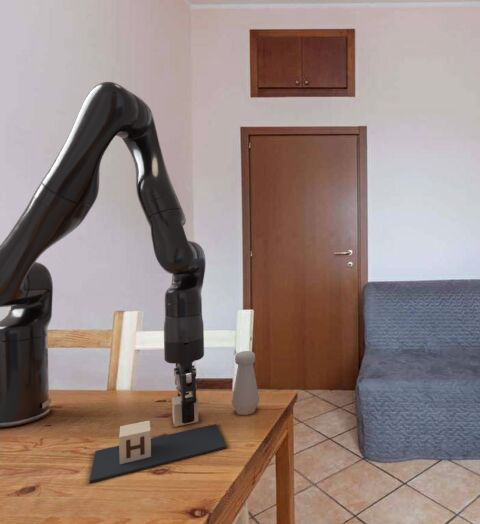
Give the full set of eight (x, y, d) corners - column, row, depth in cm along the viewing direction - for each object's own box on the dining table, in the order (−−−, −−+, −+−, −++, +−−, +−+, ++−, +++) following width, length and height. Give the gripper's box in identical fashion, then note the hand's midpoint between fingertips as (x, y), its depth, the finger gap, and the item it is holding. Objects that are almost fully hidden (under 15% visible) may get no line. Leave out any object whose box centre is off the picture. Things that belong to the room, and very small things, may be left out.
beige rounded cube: (119, 464, 60) (119, 437, 60) (120, 451, 64) (120, 426, 64) (151, 457, 62) (150, 430, 62) (150, 445, 66) (149, 420, 66)
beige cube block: (174, 427, 74) (174, 404, 74) (172, 418, 78) (172, 397, 78) (198, 422, 76) (198, 400, 76) (195, 413, 80) (195, 393, 80)
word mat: (89, 483, 56) (89, 480, 56) (95, 453, 65) (95, 450, 65) (226, 448, 66) (226, 445, 66) (215, 425, 75) (215, 424, 75)
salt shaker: (251, 418, 78) (251, 356, 78) (226, 415, 79) (226, 355, 79) (263, 406, 84) (263, 349, 84) (240, 405, 85) (239, 348, 85)
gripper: (161, 332, 81) (163, 406, 82) (166, 345, 69) (168, 432, 69) (198, 328, 85) (200, 399, 85) (209, 340, 73) (210, 423, 73)
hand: (185, 414), depth 77 cm, fingers open, 8 cm apart
